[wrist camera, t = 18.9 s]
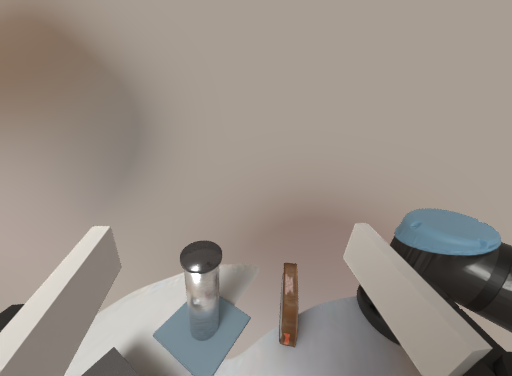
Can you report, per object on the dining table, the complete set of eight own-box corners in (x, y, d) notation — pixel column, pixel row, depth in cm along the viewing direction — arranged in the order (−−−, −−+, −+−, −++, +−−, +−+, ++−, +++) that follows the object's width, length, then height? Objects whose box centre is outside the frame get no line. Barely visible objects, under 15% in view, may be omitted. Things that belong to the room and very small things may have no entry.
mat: (203, 286, 45) (203, 284, 45) (250, 318, 40) (250, 317, 40) (153, 336, 36) (152, 334, 36) (205, 386, 31) (205, 385, 30)
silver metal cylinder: (203, 304, 41) (201, 235, 34) (227, 321, 39) (230, 251, 31) (180, 329, 37) (170, 257, 29) (204, 351, 34) (201, 278, 26)
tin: (293, 358, 35) (303, 328, 31) (274, 354, 35) (281, 324, 31) (293, 282, 48) (299, 255, 44) (279, 280, 49) (284, 252, 45)
